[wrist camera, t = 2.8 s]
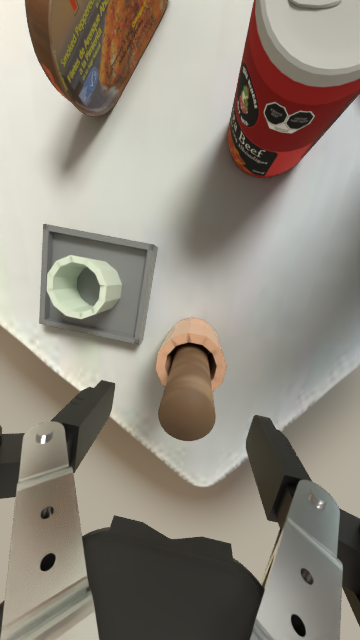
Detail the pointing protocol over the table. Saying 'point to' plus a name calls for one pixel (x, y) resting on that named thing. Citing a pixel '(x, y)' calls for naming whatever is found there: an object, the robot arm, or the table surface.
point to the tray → (133, 272)
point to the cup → (193, 333)
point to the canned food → (293, 80)
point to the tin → (91, 45)
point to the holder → (66, 291)
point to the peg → (188, 395)
